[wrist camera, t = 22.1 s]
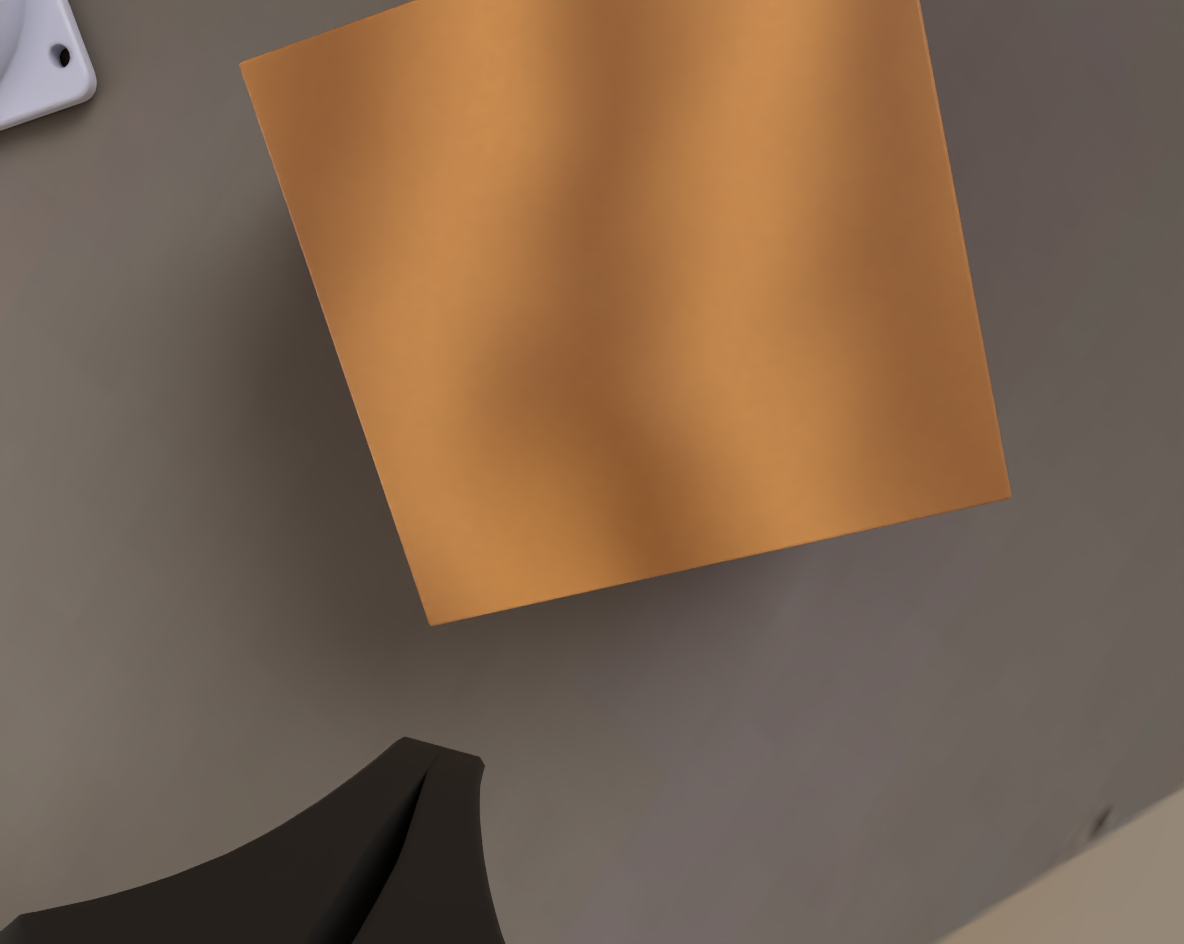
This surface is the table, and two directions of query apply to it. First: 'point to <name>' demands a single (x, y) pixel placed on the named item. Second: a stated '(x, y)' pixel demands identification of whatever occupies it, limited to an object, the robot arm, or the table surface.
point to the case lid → (635, 280)
